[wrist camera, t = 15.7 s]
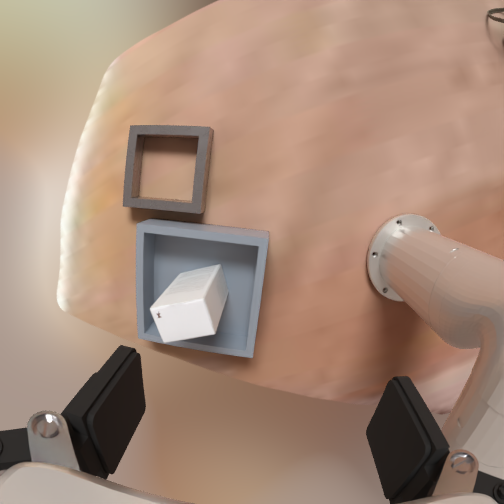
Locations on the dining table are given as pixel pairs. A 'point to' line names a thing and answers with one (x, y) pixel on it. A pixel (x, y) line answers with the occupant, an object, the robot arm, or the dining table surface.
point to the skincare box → (191, 304)
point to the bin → (195, 257)
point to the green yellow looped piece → (494, 12)
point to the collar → (135, 162)
